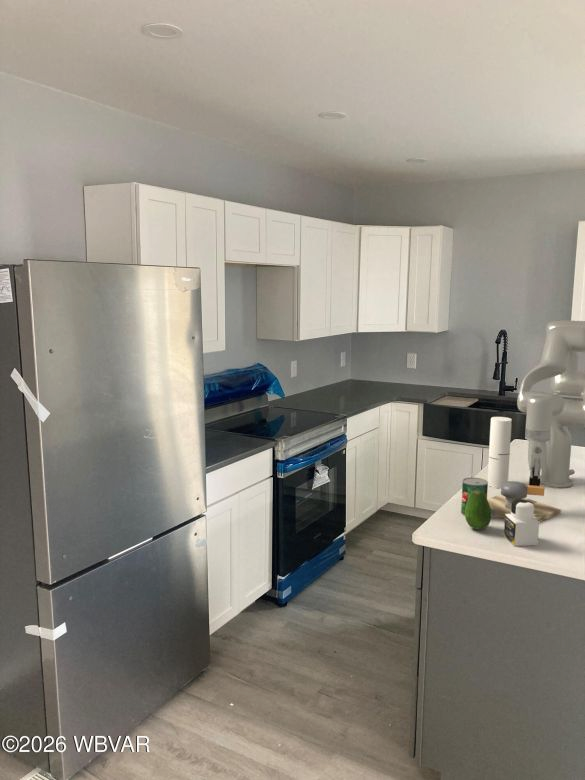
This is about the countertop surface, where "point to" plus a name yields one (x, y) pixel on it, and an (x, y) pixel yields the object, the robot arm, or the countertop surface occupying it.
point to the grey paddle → (520, 490)
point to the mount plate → (541, 511)
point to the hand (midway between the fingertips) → (534, 489)
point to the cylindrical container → (499, 451)
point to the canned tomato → (472, 489)
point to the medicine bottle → (521, 524)
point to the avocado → (477, 510)
